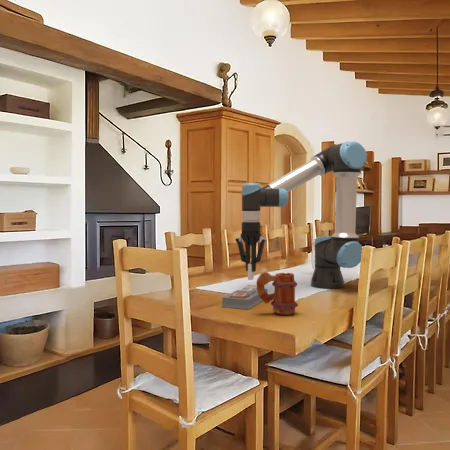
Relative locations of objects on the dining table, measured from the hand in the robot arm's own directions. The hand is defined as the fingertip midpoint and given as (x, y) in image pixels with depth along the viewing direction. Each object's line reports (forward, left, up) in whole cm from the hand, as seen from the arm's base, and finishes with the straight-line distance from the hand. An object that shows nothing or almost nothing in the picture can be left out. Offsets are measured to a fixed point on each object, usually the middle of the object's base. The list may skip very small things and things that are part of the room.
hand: (250, 279), depth 186 cm
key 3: (0, +13, -6) cm, 14 cm away
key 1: (0, 0, -5) cm, 5 cm away
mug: (-17, +19, -8) cm, 27 cm away
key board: (0, +6, -8) cm, 10 cm away
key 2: (0, +6, -5) cm, 8 cm away
